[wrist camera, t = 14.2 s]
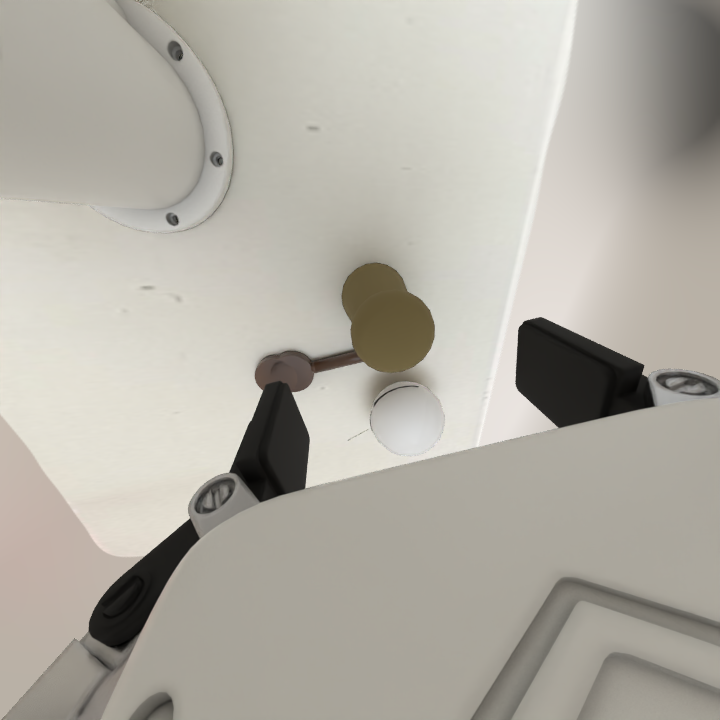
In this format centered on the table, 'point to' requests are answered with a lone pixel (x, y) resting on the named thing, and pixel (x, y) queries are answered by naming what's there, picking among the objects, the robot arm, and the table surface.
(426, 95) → the table surface
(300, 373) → the wooden spoon
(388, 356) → the cork
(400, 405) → the white ovoid
